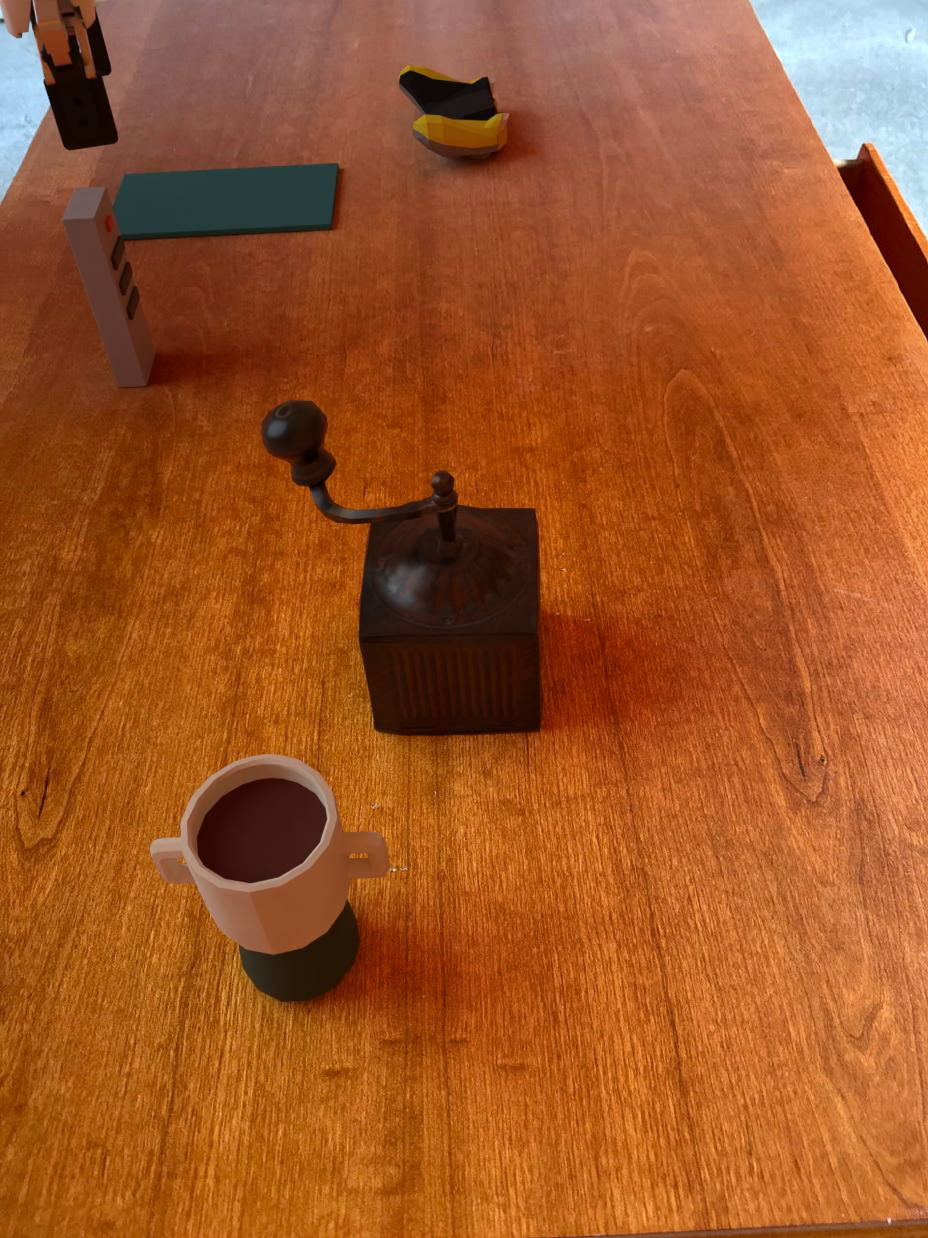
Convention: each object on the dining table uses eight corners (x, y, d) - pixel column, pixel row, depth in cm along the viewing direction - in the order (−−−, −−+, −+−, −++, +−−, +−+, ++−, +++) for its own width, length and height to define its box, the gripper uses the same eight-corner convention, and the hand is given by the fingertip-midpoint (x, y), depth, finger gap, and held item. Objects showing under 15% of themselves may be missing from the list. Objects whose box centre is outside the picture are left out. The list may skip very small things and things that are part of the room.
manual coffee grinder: (540, 599, 76) (541, 378, 62) (544, 735, 69) (546, 518, 55) (308, 603, 77) (260, 385, 63) (288, 737, 69) (228, 524, 56)
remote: (117, 387, 94) (61, 218, 82) (127, 354, 97) (74, 187, 85) (150, 386, 94) (98, 217, 82) (159, 352, 97) (110, 185, 85)
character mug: (407, 885, 62) (384, 748, 53) (403, 1013, 58) (377, 888, 48) (209, 891, 63) (150, 756, 53) (190, 1018, 58) (121, 896, 48)
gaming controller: (418, 179, 114) (516, 166, 115) (414, 125, 110) (515, 112, 111) (399, 112, 124) (490, 101, 125) (395, 60, 120) (488, 49, 121)
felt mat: (103, 240, 109) (101, 235, 109) (125, 179, 117) (124, 173, 117) (331, 229, 109) (331, 223, 108) (339, 168, 117) (338, 162, 116)
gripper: (-73, -258, 63) (29, 61, 76) (-97, -172, 52) (27, 185, 65) (65, -272, 64) (142, 45, 77) (71, -191, 53) (160, 164, 66)
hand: (90, 109), depth 71 cm, fingers open, 9 cm apart
